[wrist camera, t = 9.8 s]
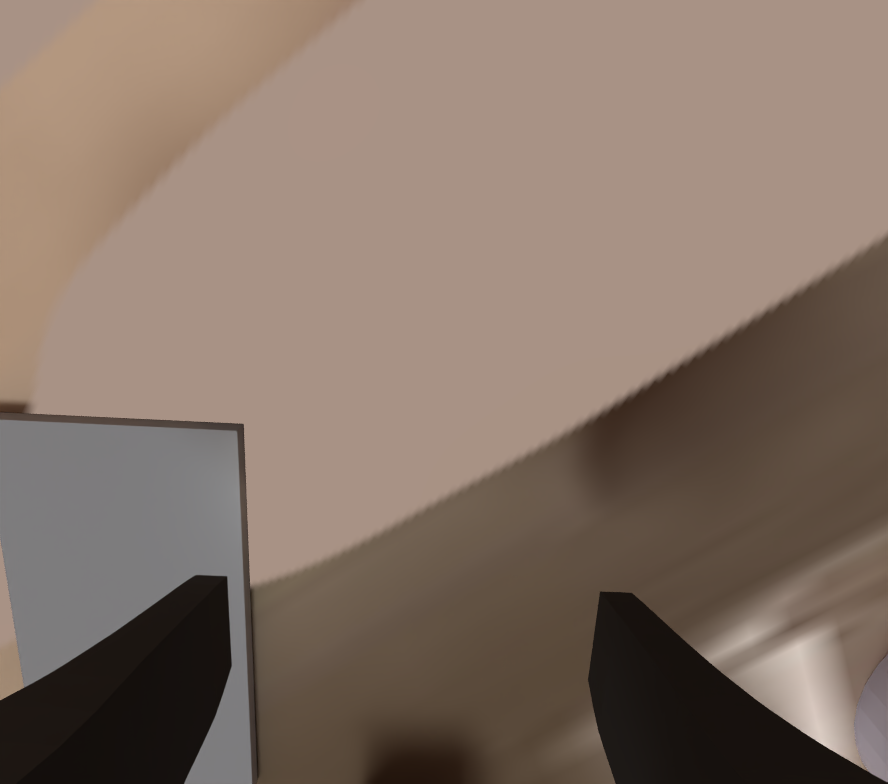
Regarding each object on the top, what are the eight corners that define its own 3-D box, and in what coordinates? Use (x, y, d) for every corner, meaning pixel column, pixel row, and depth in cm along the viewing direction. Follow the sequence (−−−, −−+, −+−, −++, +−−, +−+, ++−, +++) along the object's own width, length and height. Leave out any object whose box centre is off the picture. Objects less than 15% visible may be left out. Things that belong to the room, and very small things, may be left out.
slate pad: (243, 424, 16) (237, 430, 15) (257, 780, 19) (252, 795, 18) (-5, 412, 16) (-19, 418, 15) (50, 771, 19) (40, 786, 18)
